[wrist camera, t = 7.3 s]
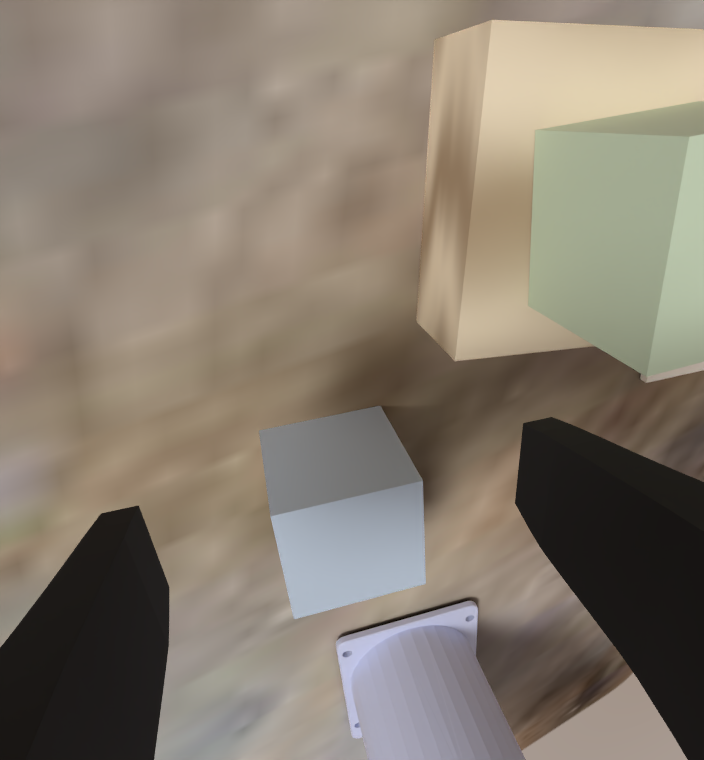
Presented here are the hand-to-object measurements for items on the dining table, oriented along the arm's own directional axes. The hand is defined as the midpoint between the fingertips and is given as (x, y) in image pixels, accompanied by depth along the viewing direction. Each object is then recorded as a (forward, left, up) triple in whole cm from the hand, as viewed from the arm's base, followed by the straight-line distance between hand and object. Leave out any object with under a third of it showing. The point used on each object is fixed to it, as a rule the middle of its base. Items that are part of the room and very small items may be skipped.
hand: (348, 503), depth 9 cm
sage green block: (+3, -10, -6) cm, 12 cm away
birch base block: (+3, -10, -10) cm, 15 cm away
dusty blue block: (-7, -1, -10) cm, 12 cm away
